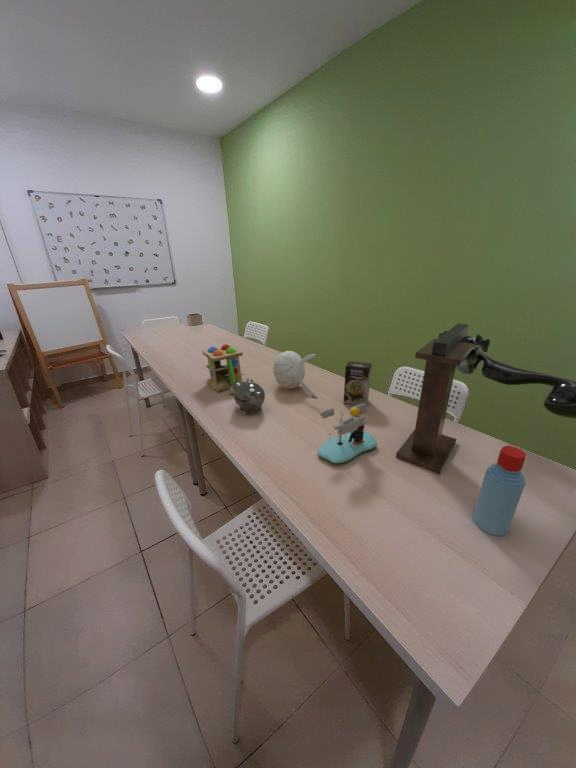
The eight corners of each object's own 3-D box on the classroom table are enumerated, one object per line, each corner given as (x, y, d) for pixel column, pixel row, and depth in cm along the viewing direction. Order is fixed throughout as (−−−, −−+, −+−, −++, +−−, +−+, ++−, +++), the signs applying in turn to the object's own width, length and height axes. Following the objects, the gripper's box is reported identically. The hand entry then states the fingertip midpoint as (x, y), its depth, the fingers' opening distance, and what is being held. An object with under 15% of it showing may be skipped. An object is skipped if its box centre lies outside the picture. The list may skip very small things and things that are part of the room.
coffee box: (342, 403, 119) (344, 365, 113) (346, 396, 125) (348, 360, 118) (366, 407, 116) (369, 368, 110) (368, 400, 122) (372, 362, 115)
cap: (522, 464, 60) (526, 450, 58) (520, 474, 57) (525, 460, 56) (498, 456, 62) (502, 443, 61) (495, 466, 59) (499, 452, 58)
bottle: (509, 520, 66) (535, 451, 59) (506, 541, 62) (532, 469, 54) (475, 506, 70) (495, 440, 63) (469, 525, 66) (490, 455, 58)
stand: (455, 443, 93) (479, 343, 80) (439, 474, 81) (464, 361, 68) (416, 430, 100) (431, 337, 87) (395, 457, 88) (410, 352, 75)
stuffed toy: (262, 352, 132) (303, 356, 114) (285, 347, 141) (326, 350, 123) (266, 393, 137) (305, 403, 119) (287, 386, 146) (327, 394, 128)
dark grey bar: (466, 334, 89) (468, 324, 87) (444, 355, 72) (447, 343, 71) (455, 333, 90) (457, 323, 89) (431, 353, 74) (433, 341, 72)
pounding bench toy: (254, 391, 133) (251, 352, 126) (224, 399, 126) (219, 359, 119) (234, 375, 151) (230, 340, 144) (206, 382, 144) (201, 346, 137)
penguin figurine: (360, 431, 101) (363, 390, 94) (384, 447, 92) (389, 404, 86) (310, 450, 92) (310, 407, 86) (332, 470, 83) (333, 423, 77)
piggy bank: (251, 398, 126) (249, 373, 121) (273, 411, 115) (271, 384, 111) (228, 407, 119) (224, 381, 115) (248, 421, 109) (246, 393, 104)
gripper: (486, 364, 99) (484, 351, 86) (440, 356, 107) (432, 343, 94) (493, 342, 99) (492, 326, 86) (446, 336, 107) (439, 321, 94)
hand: (461, 335), depth 90 cm, fingers open, 8 cm apart
